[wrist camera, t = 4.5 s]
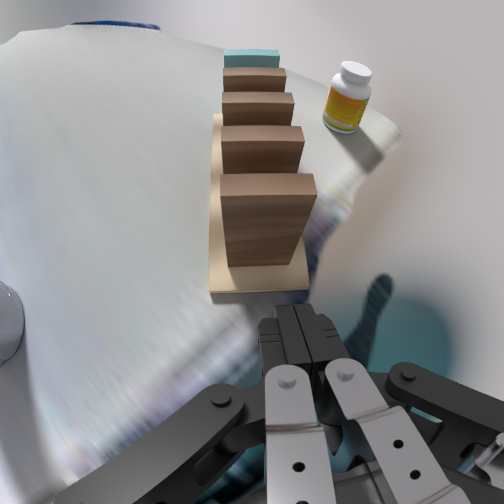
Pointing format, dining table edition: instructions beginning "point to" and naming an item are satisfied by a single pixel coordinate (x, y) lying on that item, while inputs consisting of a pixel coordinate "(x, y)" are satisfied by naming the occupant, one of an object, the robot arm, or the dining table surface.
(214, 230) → the domino board
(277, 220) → the domino
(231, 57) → the domino
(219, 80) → the dining table surface
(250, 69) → the domino
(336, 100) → the supplement bottle
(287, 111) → the domino
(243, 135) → the domino
